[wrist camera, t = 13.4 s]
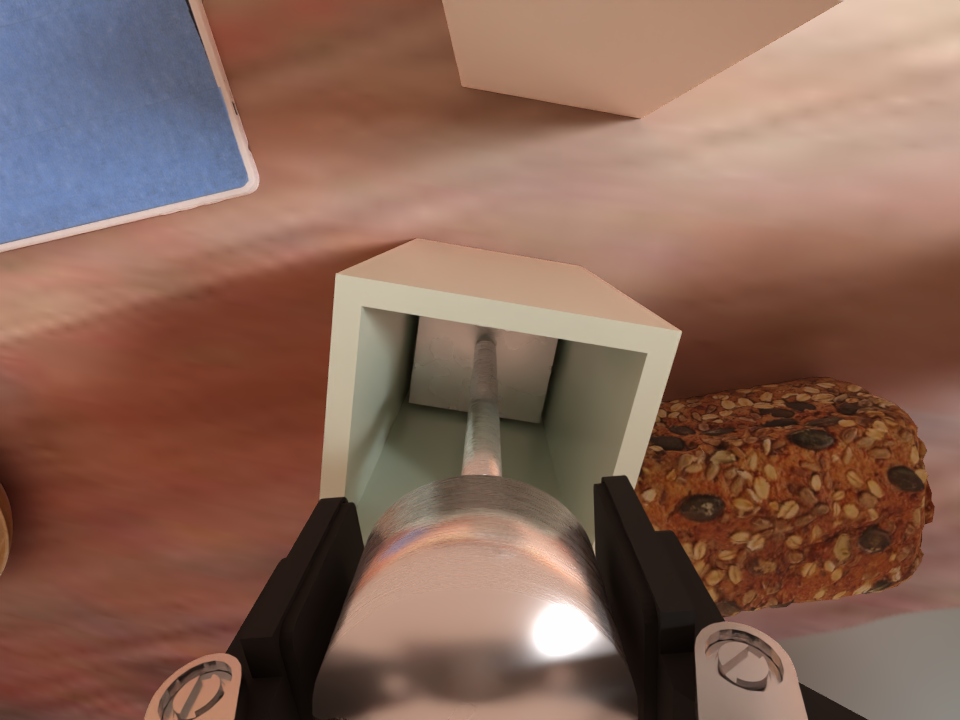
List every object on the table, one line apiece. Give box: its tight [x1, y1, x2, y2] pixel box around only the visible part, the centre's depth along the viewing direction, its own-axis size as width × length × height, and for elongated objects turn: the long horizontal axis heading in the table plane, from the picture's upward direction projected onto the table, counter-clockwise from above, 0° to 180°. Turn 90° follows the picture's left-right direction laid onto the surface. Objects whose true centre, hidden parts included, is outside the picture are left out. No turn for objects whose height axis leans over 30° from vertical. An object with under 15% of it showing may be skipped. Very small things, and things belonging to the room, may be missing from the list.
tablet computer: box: [0, 0, 259, 253], centre depth 27 cm, size 19×13×1 cm, turn 102°
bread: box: [634, 377, 934, 617], centre depth 28 cm, size 19×11×10 cm, turn 100°
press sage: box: [319, 238, 682, 554], centre depth 23 cm, size 10×10×16 cm
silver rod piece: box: [312, 316, 638, 720], centre depth 17 cm, size 8×8×21 cm
